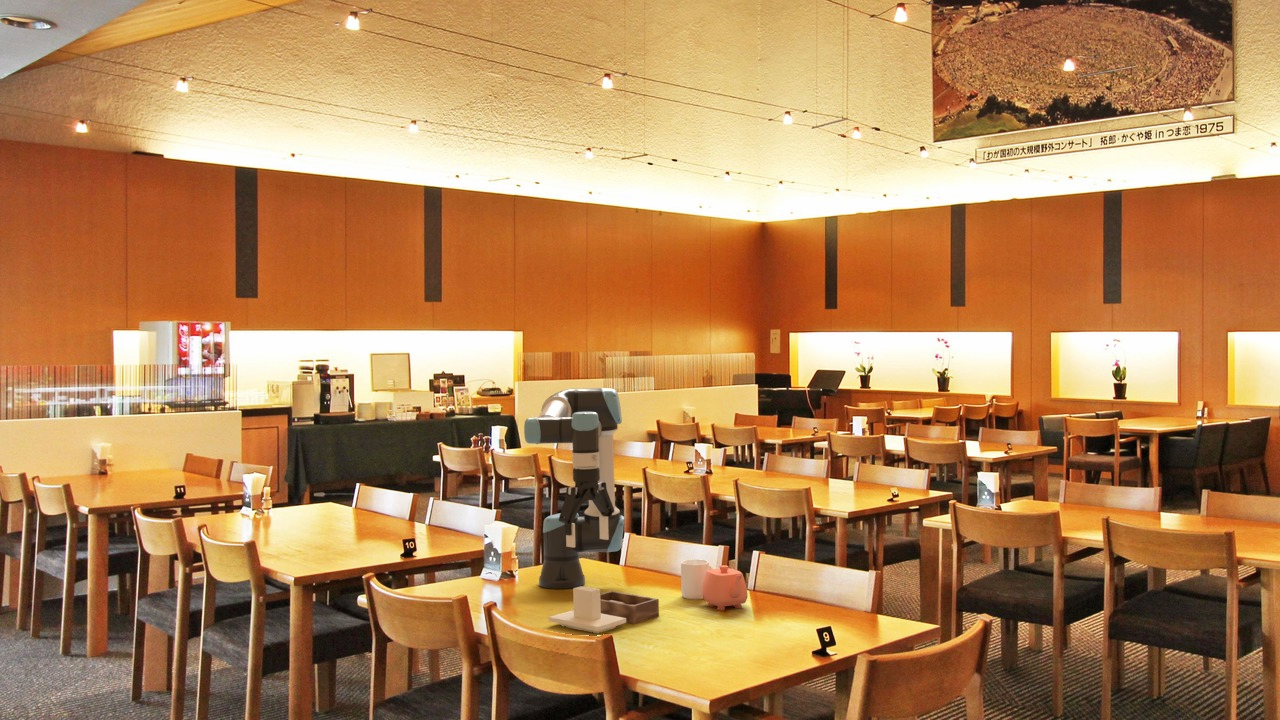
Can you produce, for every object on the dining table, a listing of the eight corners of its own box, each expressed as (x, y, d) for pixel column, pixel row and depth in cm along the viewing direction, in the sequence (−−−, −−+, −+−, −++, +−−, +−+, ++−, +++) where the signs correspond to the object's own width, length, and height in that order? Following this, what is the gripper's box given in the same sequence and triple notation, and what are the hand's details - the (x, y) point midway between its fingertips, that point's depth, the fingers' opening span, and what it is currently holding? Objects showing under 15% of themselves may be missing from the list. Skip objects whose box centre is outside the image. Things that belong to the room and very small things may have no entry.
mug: (723, 595, 331) (722, 560, 331) (693, 601, 324) (692, 565, 324) (706, 590, 338) (705, 556, 338) (676, 596, 331) (675, 561, 331)
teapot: (692, 602, 322) (691, 562, 322) (726, 597, 327) (725, 558, 327) (725, 616, 304) (724, 574, 304) (761, 611, 309) (760, 570, 309)
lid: (548, 626, 298) (548, 588, 298) (577, 618, 306) (576, 581, 306) (598, 637, 286) (597, 597, 286) (626, 627, 294) (625, 589, 294)
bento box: (586, 615, 309) (586, 597, 309) (612, 607, 317) (611, 590, 317) (634, 624, 297) (633, 606, 297) (658, 616, 306) (658, 598, 306)
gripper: (564, 472, 286) (566, 551, 286) (625, 463, 305) (627, 537, 305) (544, 471, 291) (546, 548, 291) (606, 462, 310) (607, 534, 310)
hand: (587, 543), depth 298 cm, fingers open, 13 cm apart
